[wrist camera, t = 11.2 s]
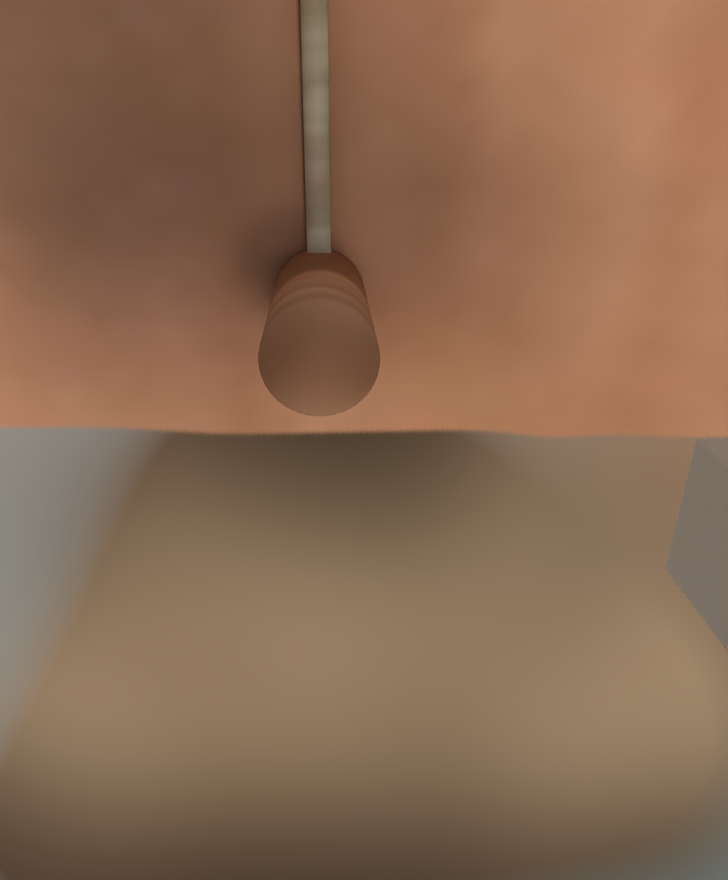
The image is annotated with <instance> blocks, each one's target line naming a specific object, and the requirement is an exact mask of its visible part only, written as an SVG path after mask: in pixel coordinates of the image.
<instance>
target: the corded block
mask: <svg viewBox="0 0 728 880" xmlns="http://www.w3.org/2000/svg"><path fill="white" fill-rule="evenodd" d="M300 12H301V49H302V85H303V122H304V158H305V195H306V231H307V250H305V251H302V252H300V253H298V254H296V255H295V256H293V257H292V258H291V259H290V260H289V261H288V262H287V263H286V264H285V265H284V266H283V268H282V269H281V271H280V273H279V275H278V278H277V282H276V285H275V289H274V293H273V297H272V301H271V305H270V308H269V312H268V316H267V320H266V324H265V328H264V331H263V335H262V339H261V343H260V347H259V354H258V362H259V369H260V373H261V376H262V379H263V381H264V383H265V385H266V387H267V388H268V390H269V391H270V393H271V394H272V395H273V396H274V397H275V398H276V399H277V400H278V401H279V402H280V403H282V404H283V405H284V406H286V407H288V408H289V409H291V410H293V411H296V412H298V413H301V414H305V415H311V416H329V415H334V414H338V413H341V412H344V411H346V410H348V409H350V408H352V407H353V406H355V405H356V404H358V403H359V402H360V401H361V400H362V399H363V398H364V397H365V396H366V395H367V394H368V392H369V391H370V390H371V388H372V386H373V385H374V383H375V380H376V378H377V375H378V371H379V365H380V353H379V347H378V343H377V339H376V334H375V330H374V326H373V322H372V318H371V314H370V310H369V306H368V302H367V298H366V293H365V289H364V285H363V281H362V278H361V276H360V274H359V271H358V270H357V268H356V267H355V265H354V264H353V263H352V262H351V261H350V260H349V259H348V258H346V257H345V256H343V255H342V254H340V253H338V252H336V251H333V250H331V218H330V136H329V55H328V0H300Z"/></svg>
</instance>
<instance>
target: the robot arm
mask: <svg viewBox="0 0 728 880" xmlns="http://www.w3.org/2000/svg"><path fill="white" fill-rule="evenodd" d="M665 568H666V570H667V571H668V573H669V574H670V575H671V577H672V578H673V579H674V581H675V582H676V583H677V585H678V586H679V587H680V588H681V590H682V591H683V593H684V594H685V595H686V597H687V598H688V599H689V601H690V602H691V603H692V605H693V606H694V607H695V609H696V610H697V611H698V613H699V614H700V615H701V617H702V618H703V620H704V621H705V622H706V624H707V625H708V626H709V628H710V629H711V630H712V632H713V633H714V634H715V636H716V637H717V638H718V640H719V641H720V642H721V644H722V645H723V646H724V648H725V649H726V650H727V652H728V438H707V439H697V440H696V444H695V448H694V452H693V456H692V460H691V464H690V468H689V472H688V476H687V481H686V484H685V489H684V493H683V497H682V501H681V505H680V509H679V513H678V517H677V521H676V525H675V529H674V533H673V537H672V542H671V546H670V550H669V554H668V558H667V562H666V566H665Z"/></svg>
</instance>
